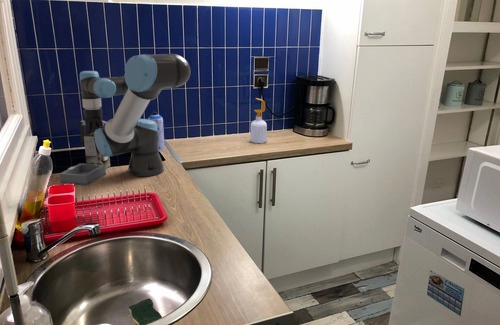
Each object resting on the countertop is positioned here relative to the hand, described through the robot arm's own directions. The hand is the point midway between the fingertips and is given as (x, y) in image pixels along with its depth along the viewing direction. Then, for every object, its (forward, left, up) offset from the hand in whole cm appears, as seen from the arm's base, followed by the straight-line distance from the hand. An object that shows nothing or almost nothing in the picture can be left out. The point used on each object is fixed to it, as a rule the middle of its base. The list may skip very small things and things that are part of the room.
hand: (98, 159), depth 182 cm
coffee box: (0, 0, -5) cm, 5 cm away
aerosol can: (-12, -35, -5) cm, 37 cm away
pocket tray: (-1, +13, -4) cm, 14 cm away
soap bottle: (-60, -65, -5) cm, 89 cm away
